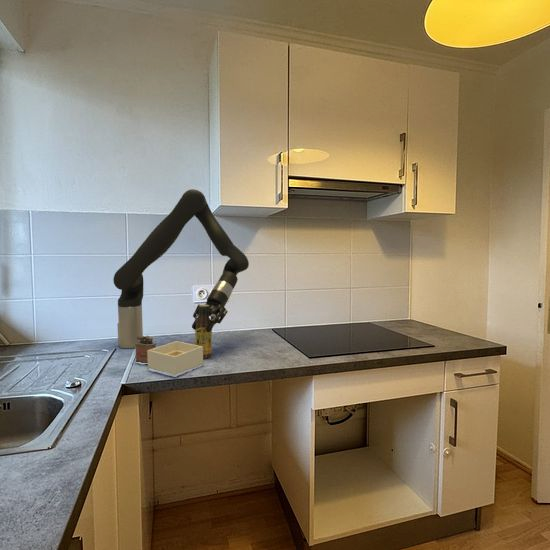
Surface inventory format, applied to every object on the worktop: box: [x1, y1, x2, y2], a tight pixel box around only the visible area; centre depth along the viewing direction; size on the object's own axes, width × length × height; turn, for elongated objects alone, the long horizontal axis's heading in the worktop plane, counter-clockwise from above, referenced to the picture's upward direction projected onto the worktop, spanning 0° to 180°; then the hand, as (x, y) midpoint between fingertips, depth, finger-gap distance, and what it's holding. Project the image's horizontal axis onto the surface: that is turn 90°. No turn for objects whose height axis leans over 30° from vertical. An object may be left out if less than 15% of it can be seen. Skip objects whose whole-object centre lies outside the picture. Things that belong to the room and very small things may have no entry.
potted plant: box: [135, 335, 157, 363], centre depth 120 cm, size 8×3×10 cm, turn 74°
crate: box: [147, 340, 204, 375], centre depth 115 cm, size 13×13×7 cm
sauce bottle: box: [194, 304, 213, 359], centre depth 127 cm, size 7×6×20 cm
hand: (200, 329), depth 125 cm, fingers closed on sauce bottle, 6 cm apart
